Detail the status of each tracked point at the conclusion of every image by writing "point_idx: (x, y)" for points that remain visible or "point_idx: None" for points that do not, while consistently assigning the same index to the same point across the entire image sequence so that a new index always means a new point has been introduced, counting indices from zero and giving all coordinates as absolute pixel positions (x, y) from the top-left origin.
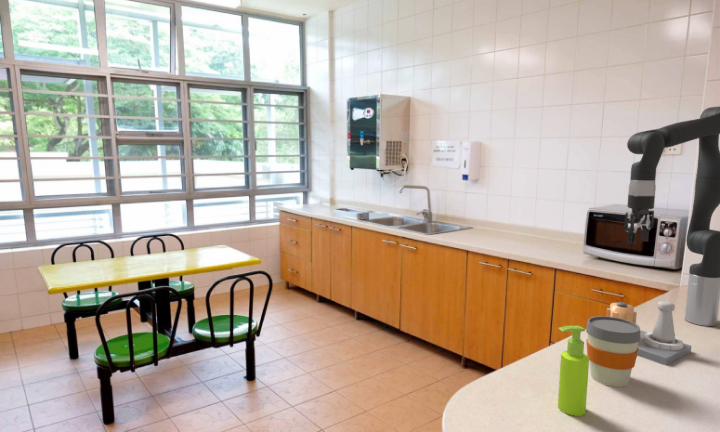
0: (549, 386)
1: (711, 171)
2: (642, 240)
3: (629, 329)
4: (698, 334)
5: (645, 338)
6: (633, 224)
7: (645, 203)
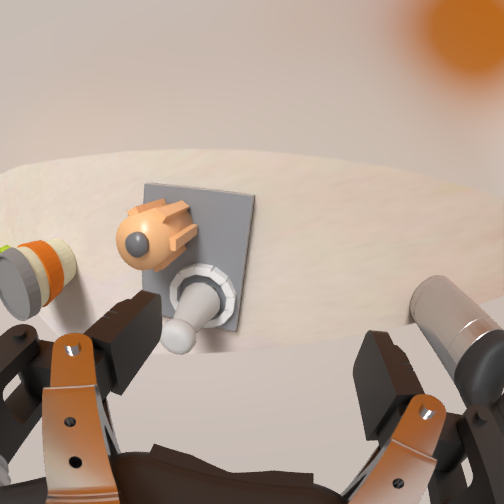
0: (15, 222)
1: None
2: (365, 343)
3: (20, 307)
4: (351, 316)
5: (177, 273)
6: (23, 427)
7: None
